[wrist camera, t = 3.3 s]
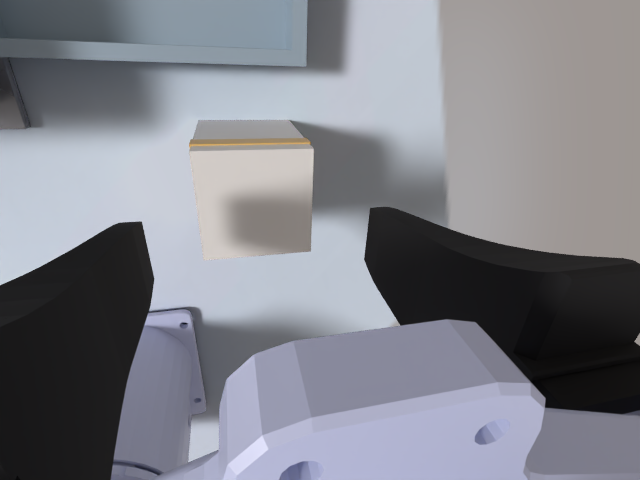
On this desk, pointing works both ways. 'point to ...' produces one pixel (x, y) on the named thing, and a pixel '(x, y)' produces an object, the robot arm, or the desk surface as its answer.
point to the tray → (157, 30)
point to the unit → (10, 100)
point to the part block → (252, 187)
